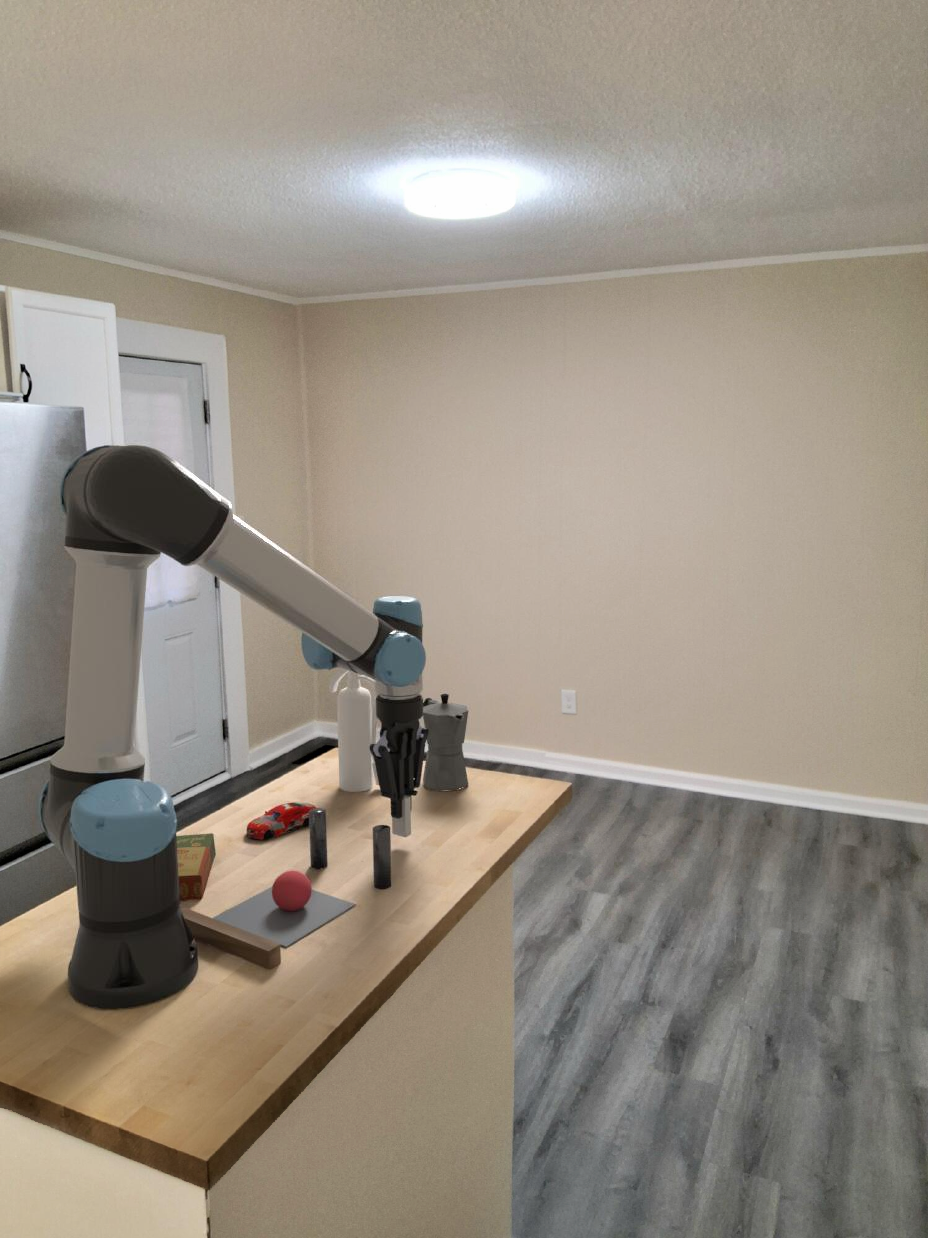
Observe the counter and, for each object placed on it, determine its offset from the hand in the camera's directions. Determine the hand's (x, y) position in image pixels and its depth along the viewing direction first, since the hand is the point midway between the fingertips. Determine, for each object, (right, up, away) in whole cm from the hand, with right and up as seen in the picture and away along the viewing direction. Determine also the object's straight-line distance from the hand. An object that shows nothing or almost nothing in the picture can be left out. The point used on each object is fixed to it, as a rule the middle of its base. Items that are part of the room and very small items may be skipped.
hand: (401, 834), depth 154 cm
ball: (-14, -3, -21) cm, 26 cm away
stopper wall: (-21, -8, -31) cm, 38 cm away
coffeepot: (+6, +3, +31) cm, 31 cm away
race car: (-21, -1, +8) cm, 23 cm away
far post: (-12, -3, -7) cm, 15 cm away
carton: (-33, -5, -10) cm, 35 cm away
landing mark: (-15, -6, -22) cm, 27 cm away
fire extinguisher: (-10, +3, +28) cm, 30 cm away
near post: (-2, -4, -14) cm, 15 cm away
